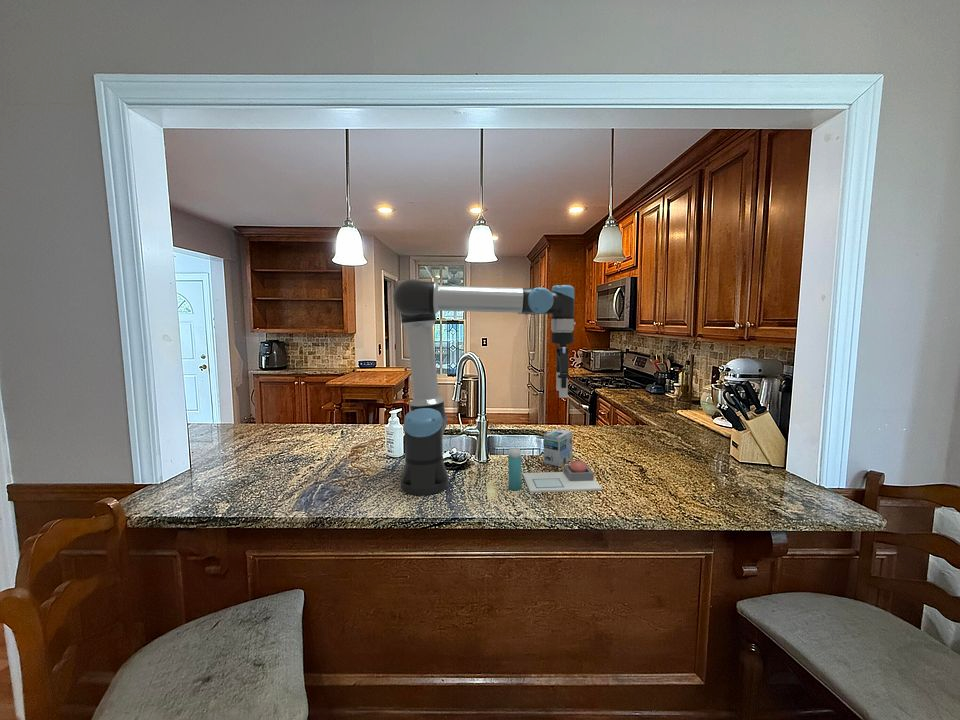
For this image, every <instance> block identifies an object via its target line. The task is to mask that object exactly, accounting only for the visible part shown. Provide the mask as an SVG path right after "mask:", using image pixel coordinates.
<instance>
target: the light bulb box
mask: <svg viewBox="0 0 960 720" xmlns="http://www.w3.org/2000/svg"><path fill="white" fill-rule="evenodd" d="M572 460H573V430H568V429H562V428H561V429H560V428H555V429H553V430H551V431H549V432H547V433H544V434H543V464H546V465H550V466H555V467H559V468H561V467H562V466H564V465H565V464H567V463H568V462H571V461H572Z"/></svg>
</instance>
